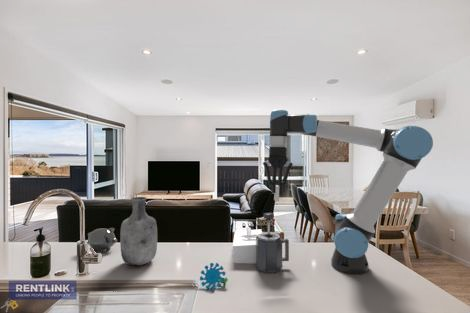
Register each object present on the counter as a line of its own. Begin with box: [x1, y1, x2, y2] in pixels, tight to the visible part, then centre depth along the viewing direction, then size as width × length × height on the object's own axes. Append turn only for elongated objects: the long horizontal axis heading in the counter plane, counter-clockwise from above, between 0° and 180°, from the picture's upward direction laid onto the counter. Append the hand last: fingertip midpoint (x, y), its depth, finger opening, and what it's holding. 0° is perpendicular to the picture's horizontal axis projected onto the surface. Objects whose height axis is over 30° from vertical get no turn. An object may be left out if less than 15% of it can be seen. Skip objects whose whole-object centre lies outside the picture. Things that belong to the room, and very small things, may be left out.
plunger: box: [263, 212, 275, 237], centre depth 115 cm, size 8×8×14 cm
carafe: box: [255, 231, 290, 275], centre depth 116 cm, size 14×11×14 cm
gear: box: [199, 262, 229, 291], centre depth 103 cm, size 11×6×10 cm
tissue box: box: [232, 226, 263, 264], centre depth 133 cm, size 14×25×11 cm, turn 178°
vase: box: [119, 196, 158, 266], centre depth 123 cm, size 16×16×30 cm
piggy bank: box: [87, 227, 118, 254], centre depth 139 cm, size 11×15×12 cm
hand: (276, 200), depth 116 cm, fingers closed
